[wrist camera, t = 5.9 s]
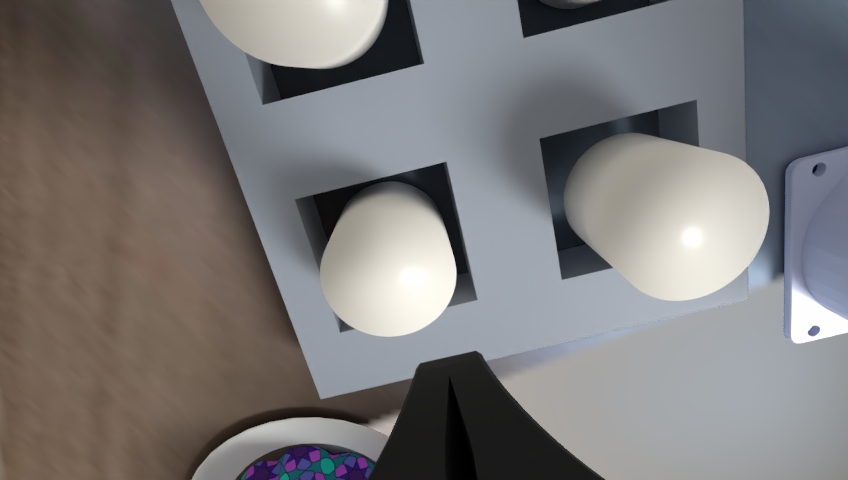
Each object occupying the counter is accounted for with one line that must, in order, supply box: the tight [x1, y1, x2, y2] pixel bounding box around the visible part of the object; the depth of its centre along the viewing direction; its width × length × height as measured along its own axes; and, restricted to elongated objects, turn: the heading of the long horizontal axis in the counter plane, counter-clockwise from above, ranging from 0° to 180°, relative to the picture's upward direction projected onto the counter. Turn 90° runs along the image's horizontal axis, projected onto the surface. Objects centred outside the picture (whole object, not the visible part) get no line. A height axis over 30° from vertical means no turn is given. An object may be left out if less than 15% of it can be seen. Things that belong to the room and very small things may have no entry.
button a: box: [563, 132, 769, 301], centre depth 14 cm, size 4×4×4 cm
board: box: [171, 0, 749, 399], centre depth 16 cm, size 16×18×2 cm
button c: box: [320, 181, 456, 337], centre depth 16 cm, size 4×4×4 cm
